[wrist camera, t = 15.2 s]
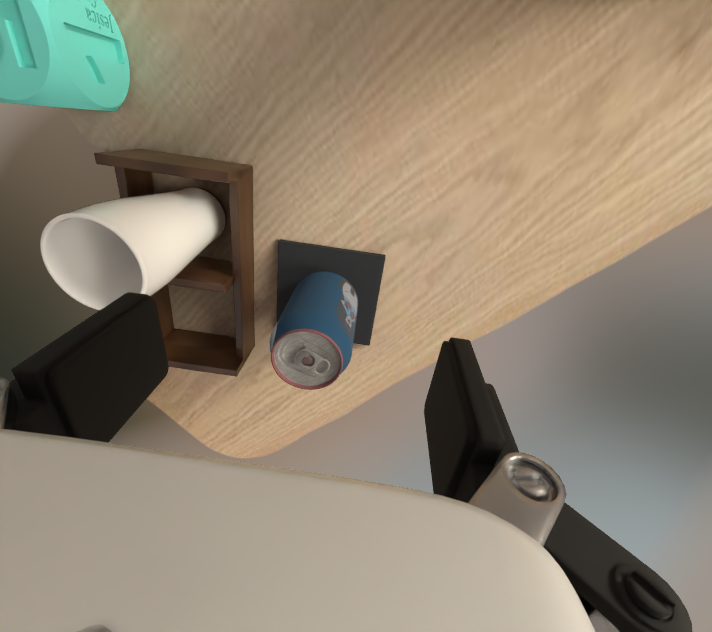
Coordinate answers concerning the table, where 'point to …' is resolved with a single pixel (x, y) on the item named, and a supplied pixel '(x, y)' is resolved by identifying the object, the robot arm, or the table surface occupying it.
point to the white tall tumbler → (129, 243)
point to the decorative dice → (62, 55)
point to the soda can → (315, 331)
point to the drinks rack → (201, 271)
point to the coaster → (346, 263)
